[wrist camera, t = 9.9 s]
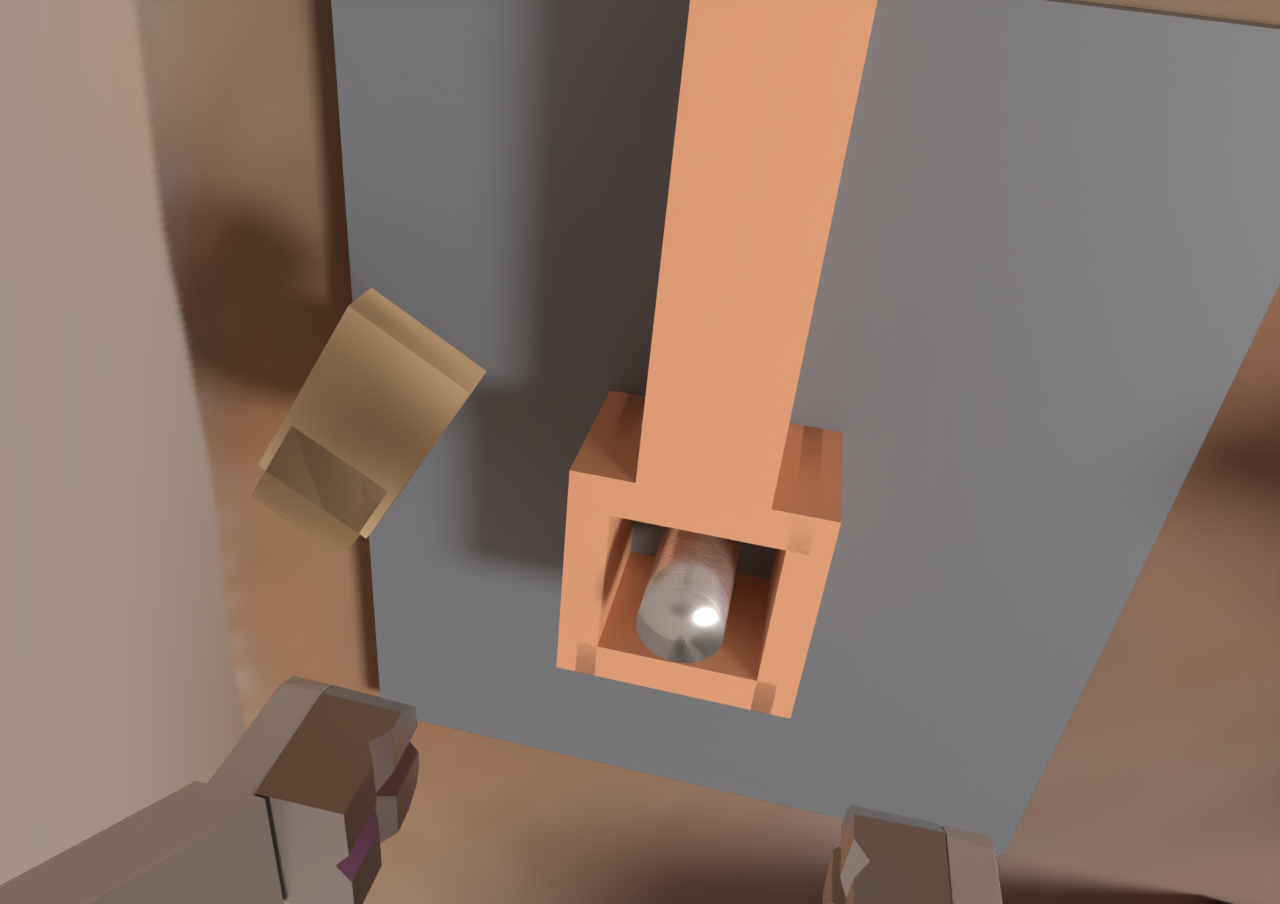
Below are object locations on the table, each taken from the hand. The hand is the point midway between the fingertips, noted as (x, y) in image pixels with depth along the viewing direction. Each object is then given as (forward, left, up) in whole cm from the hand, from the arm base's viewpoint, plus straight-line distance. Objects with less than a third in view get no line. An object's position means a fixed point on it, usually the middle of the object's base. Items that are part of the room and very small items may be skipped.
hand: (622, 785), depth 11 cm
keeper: (+2, -7, -15) cm, 17 cm away
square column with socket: (0, 0, -14) cm, 14 cm away
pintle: (+5, 0, -15) cm, 16 cm away
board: (+4, 0, -15) cm, 15 cm away
